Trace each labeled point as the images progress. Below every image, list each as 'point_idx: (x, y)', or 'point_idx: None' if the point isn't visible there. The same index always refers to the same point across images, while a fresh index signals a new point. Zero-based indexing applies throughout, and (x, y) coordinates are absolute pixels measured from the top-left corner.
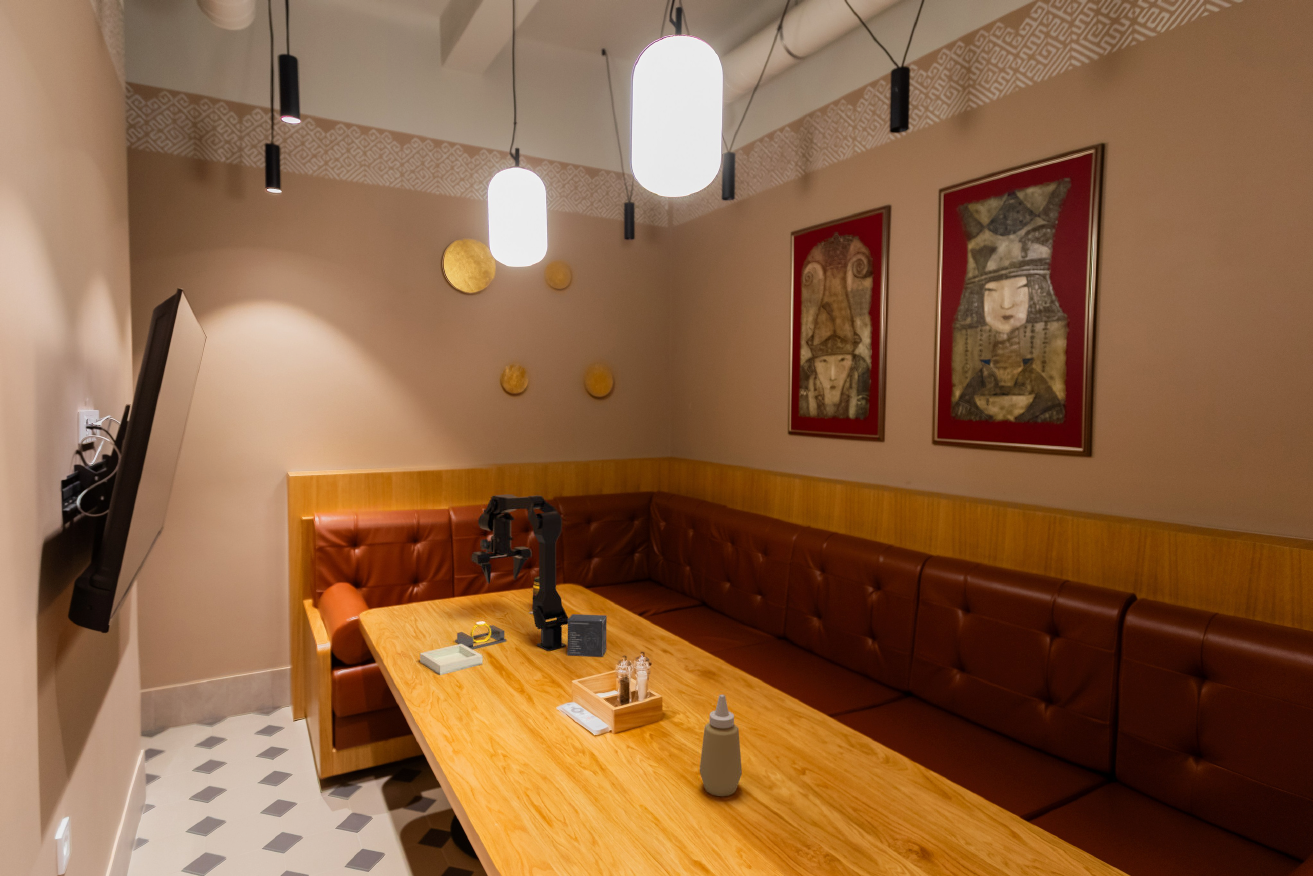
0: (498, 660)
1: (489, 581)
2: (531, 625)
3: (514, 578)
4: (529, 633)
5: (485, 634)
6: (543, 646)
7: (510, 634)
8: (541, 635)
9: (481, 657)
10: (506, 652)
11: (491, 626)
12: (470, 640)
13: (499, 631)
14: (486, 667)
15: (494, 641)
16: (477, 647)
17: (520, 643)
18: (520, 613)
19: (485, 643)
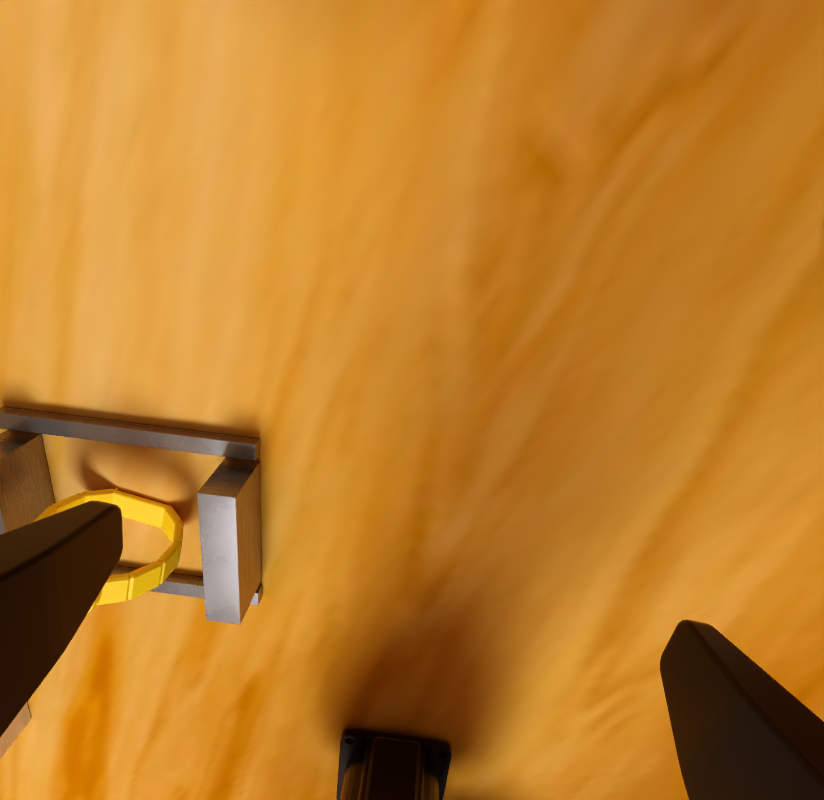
0: (108, 729)
1: (80, 594)
2: (570, 491)
3: (673, 658)
4: (446, 588)
5: (205, 453)
6: (344, 773)
7: (350, 528)
8: (359, 787)
9: (2, 749)
10: (183, 693)
11: (212, 513)
12: None
13: (206, 616)
14: (35, 745)
15: (186, 586)
16: None
17: (305, 659)
18: (779, 174)
19: None
